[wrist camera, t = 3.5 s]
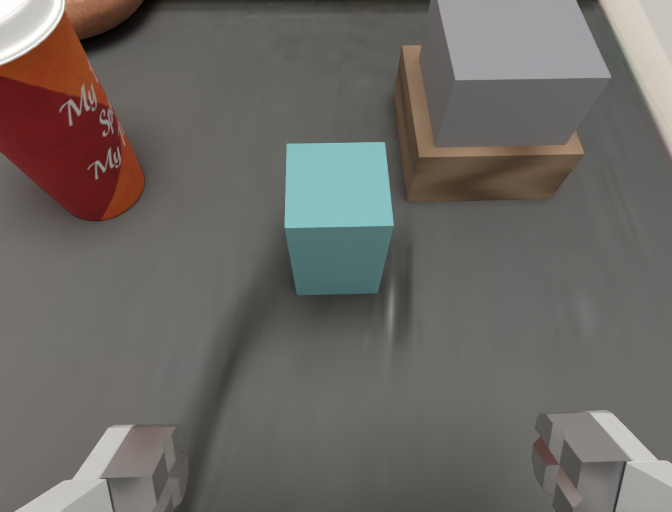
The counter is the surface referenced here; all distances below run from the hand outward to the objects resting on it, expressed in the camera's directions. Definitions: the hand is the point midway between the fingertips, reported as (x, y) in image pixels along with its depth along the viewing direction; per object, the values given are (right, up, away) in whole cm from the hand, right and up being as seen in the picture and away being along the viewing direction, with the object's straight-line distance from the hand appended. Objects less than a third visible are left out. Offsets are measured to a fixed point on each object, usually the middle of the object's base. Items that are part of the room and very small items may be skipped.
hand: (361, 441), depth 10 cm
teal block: (-1, +4, +18) cm, 19 cm away
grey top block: (+9, +14, +19) cm, 25 cm away
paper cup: (-17, +9, +21) cm, 28 cm away
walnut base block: (+9, +12, +23) cm, 28 cm away
